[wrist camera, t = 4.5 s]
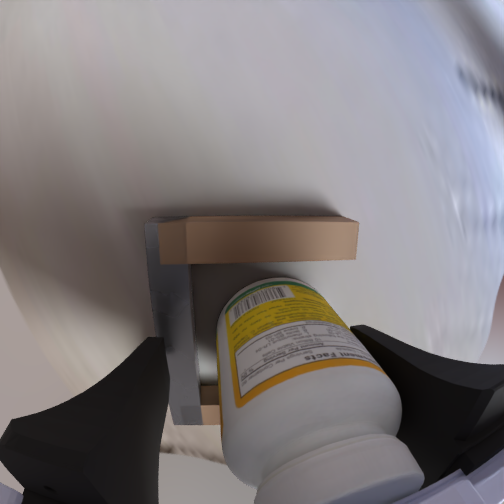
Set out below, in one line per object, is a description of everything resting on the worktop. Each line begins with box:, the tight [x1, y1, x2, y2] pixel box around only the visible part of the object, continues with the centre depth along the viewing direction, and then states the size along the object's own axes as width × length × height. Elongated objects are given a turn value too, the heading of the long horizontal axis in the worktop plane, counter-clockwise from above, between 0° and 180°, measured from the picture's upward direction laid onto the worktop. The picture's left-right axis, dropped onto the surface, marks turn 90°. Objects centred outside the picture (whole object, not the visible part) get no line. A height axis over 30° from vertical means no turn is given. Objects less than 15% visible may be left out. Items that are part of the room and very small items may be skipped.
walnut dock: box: [144, 216, 359, 425], centre depth 12 cm, size 8×10×2 cm
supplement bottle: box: [216, 278, 424, 504], centre depth 9 cm, size 5×5×10 cm
